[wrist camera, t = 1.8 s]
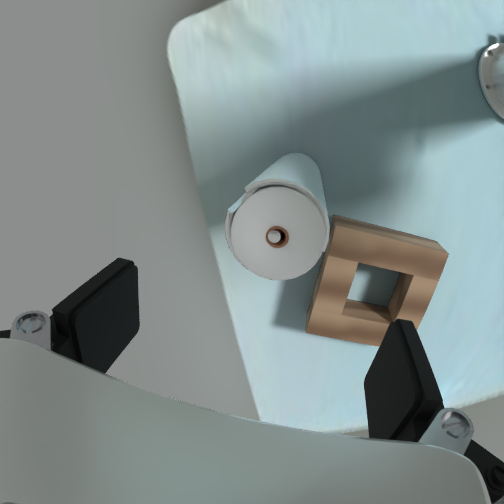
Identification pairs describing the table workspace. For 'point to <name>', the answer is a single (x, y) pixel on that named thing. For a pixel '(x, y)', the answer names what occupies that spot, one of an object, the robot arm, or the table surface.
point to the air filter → (280, 220)
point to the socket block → (380, 255)
